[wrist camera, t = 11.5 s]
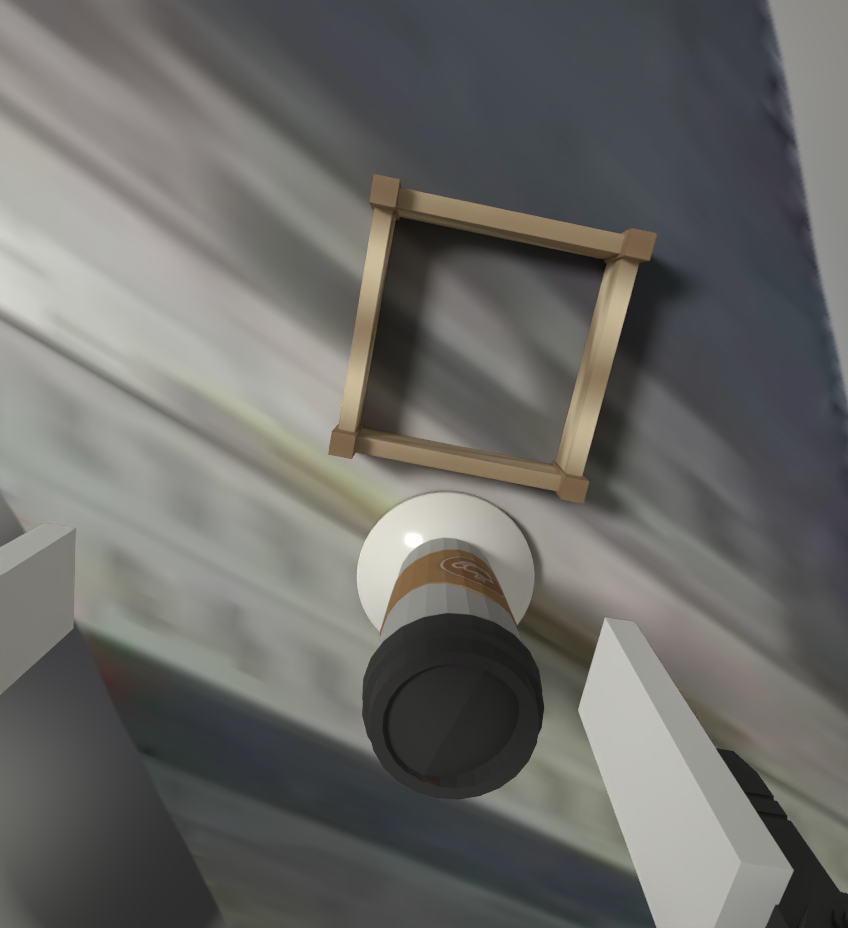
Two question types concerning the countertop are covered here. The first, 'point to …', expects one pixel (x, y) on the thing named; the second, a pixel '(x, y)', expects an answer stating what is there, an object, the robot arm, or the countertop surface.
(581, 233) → the wooden frame
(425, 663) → the coffee cup
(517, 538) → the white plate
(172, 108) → the countertop surface
